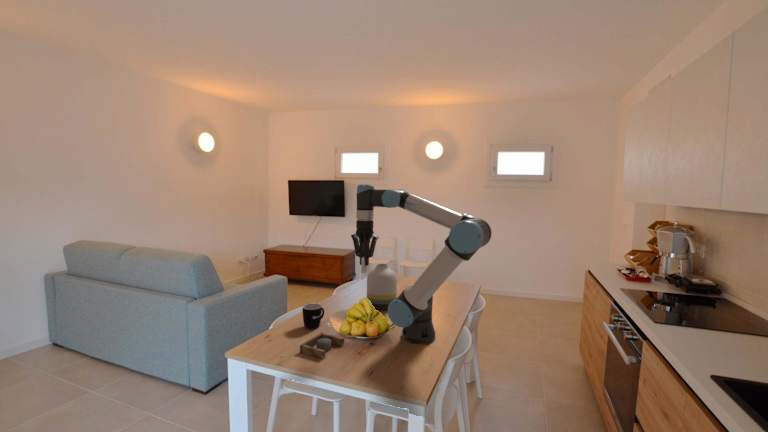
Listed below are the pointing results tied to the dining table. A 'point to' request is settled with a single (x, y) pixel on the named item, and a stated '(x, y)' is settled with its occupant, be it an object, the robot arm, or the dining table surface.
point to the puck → (324, 344)
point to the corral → (310, 350)
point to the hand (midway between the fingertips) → (364, 272)
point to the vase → (381, 286)
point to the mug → (312, 315)
